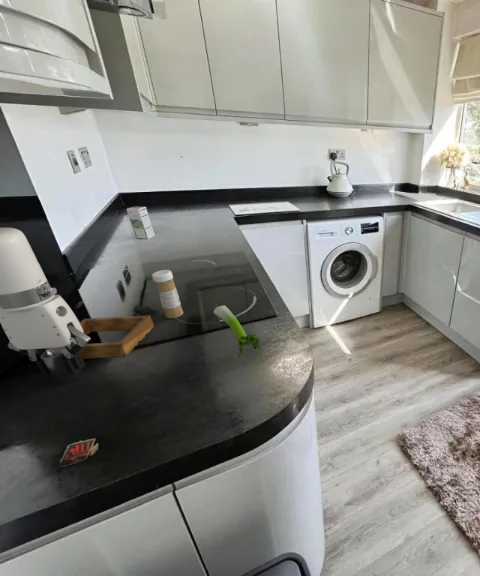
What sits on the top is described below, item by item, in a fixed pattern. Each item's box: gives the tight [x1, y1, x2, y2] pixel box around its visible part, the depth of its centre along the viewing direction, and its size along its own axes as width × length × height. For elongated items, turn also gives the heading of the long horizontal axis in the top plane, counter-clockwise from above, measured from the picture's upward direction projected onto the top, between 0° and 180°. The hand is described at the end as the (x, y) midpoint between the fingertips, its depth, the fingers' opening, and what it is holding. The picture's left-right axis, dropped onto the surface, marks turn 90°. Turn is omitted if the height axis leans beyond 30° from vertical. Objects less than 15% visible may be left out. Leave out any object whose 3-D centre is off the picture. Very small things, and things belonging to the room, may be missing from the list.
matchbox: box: [59, 437, 99, 468], centre depth 54 cm, size 5×5×1 cm
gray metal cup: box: [41, 346, 84, 386], centre depth 68 cm, size 4×4×7 cm
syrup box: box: [126, 206, 156, 240], centre depth 154 cm, size 6×6×14 cm
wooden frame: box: [47, 315, 155, 360], centre depth 80 cm, size 16×13×4 cm
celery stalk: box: [213, 305, 263, 362], centre depth 83 cm, size 6×7×30 cm
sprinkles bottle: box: [151, 269, 184, 320], centre depth 90 cm, size 5×5×14 cm
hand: (65, 370), depth 69 cm, fingers closed on gray metal cup, 4 cm apart
